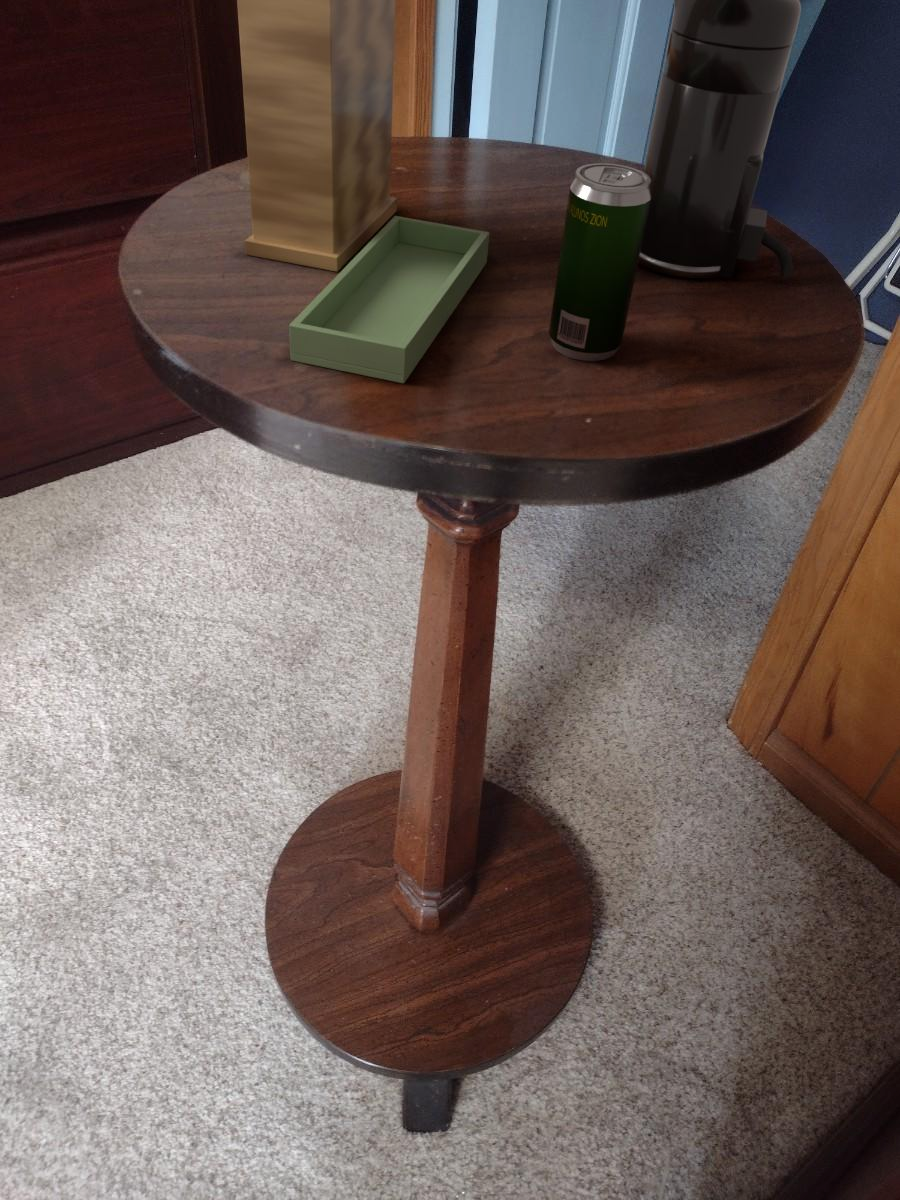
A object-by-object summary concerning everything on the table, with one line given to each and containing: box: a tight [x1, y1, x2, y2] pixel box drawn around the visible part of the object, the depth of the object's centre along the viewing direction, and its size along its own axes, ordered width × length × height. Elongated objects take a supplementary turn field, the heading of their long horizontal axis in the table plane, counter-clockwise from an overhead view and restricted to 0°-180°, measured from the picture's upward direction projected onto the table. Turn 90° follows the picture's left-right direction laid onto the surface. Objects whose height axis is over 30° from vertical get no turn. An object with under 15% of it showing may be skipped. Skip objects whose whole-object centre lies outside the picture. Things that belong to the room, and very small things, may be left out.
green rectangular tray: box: [288, 215, 490, 384], centre depth 73 cm, size 22×8×3 cm, turn 164°
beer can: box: [548, 162, 651, 362], centre depth 67 cm, size 5×5×12 cm
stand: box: [236, 0, 398, 273], centre depth 74 cm, size 15×8×30 cm, turn 164°
